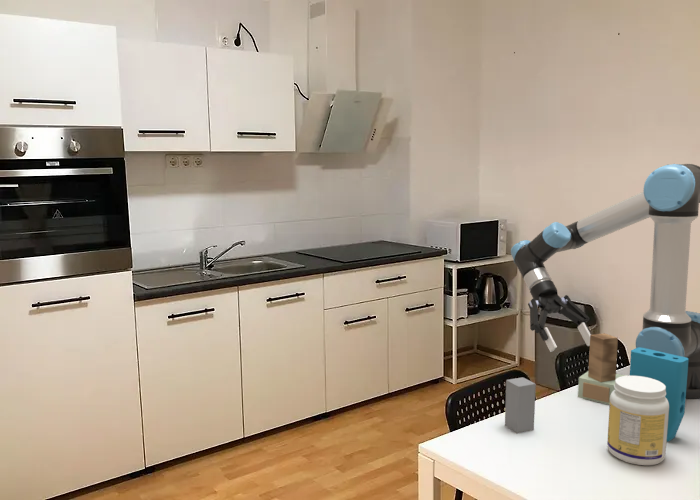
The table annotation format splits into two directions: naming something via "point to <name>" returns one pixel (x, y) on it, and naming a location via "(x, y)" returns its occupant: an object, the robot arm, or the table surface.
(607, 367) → the walnut block
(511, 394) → the slate block
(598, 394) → the base block
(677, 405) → the block
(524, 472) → the table surface
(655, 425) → the supplement tub
